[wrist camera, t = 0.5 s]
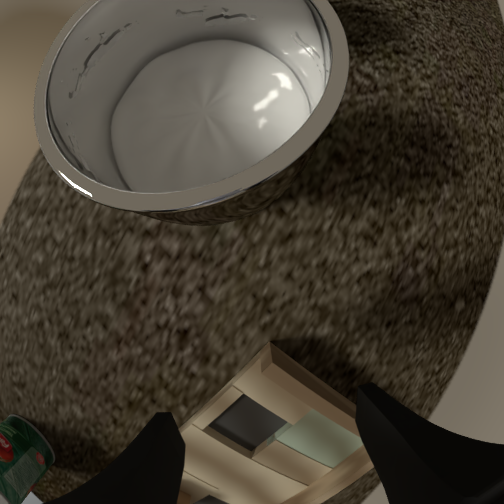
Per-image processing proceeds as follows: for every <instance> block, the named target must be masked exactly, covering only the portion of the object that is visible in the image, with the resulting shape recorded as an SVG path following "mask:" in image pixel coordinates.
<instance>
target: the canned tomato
mask: <svg viewBox="0 0 504 504" xmlns="http://www.w3.org/2000/svg"><path fill="white" fill-rule="evenodd" d="M54 461H55V455H54V451H53V449H52V447H51V446H50V444H49V442H48V441H47V440H46V438H45V437H44V436H43V435H42V434H41V432H40V431H39V430H38V429H37V428H36V427H35V426H33V425H32V424H31V423H30V422H29V421H27V420H26V419H24V418H23V417H21V416H19V415H15V414H11V415H10V416H8V418H7V419H5V420H4V421H3V422H1V424H0V504H21V503H22V502H23V501H24V499H25V498H26V497H27V495H28V494H29V493H30V492H31V490H32V489H33V488H34V486H35V485H36V484H37V482H39V480H40V479H41V478H42V476H43V475H44V474H45V472H46V471H47V470H48V469H49V467H50V466H51V465H52V464H53V463H54Z"/></svg>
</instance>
